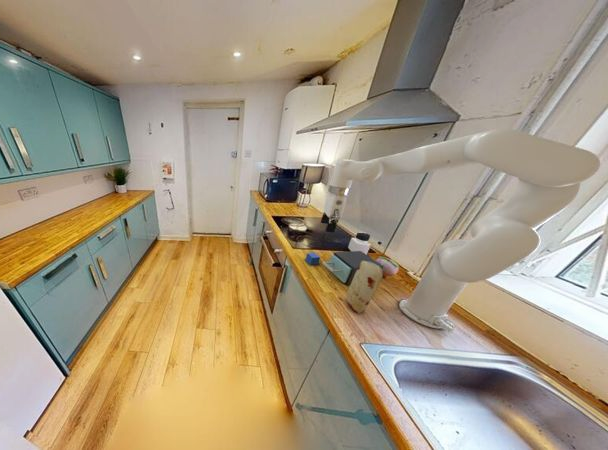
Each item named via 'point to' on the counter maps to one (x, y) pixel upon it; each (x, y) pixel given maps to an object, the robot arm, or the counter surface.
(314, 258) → the blue cube
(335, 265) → the teal drawer
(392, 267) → the decorative fruit
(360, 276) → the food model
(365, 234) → the medicine bottle
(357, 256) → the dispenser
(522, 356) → the counter surface
